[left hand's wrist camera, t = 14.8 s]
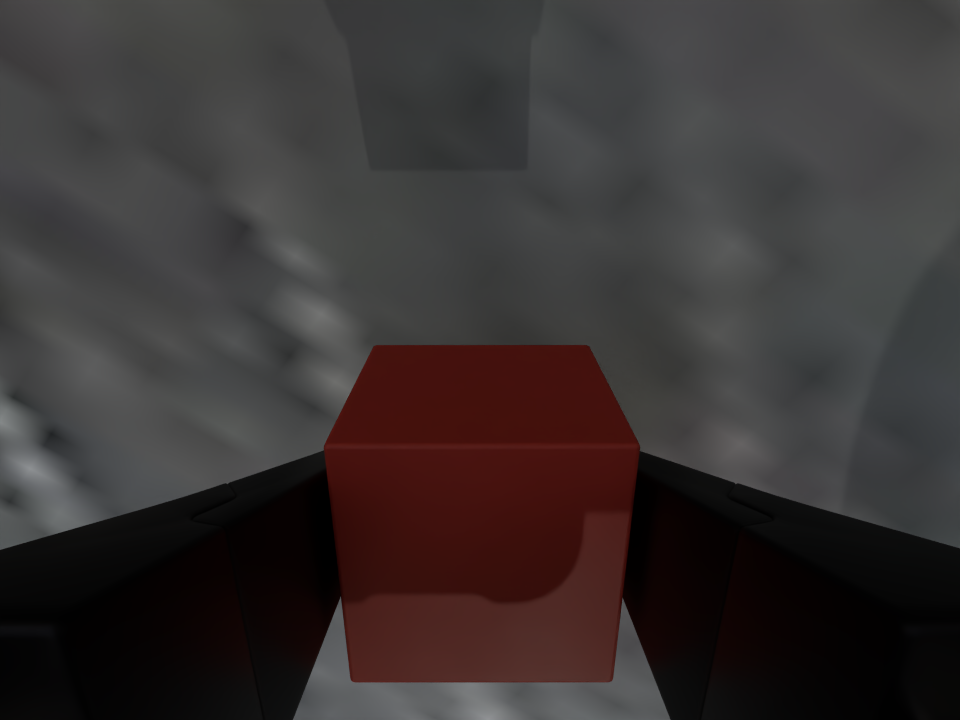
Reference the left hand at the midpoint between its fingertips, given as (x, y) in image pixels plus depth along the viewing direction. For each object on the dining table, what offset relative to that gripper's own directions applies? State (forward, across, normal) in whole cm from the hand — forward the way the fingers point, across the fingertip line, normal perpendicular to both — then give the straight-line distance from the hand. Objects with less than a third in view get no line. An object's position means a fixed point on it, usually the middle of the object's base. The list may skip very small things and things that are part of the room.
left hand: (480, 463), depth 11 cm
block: (+1, 0, 0) cm, 1 cm away
